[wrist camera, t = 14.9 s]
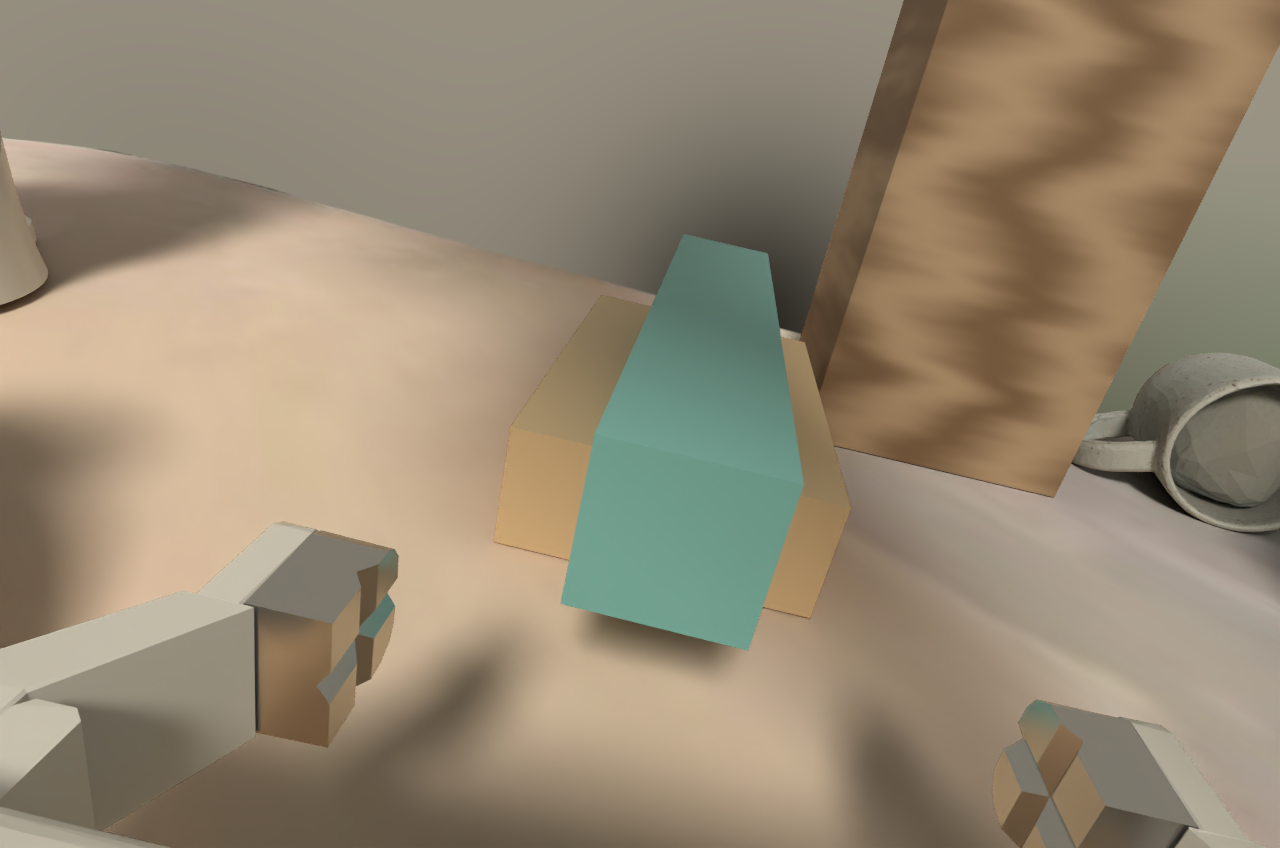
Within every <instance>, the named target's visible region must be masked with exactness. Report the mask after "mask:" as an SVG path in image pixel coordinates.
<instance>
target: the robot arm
mask: <svg viewBox="0 0 1280 848" xmlns="http://www.w3.org/2000/svg"><path fill="white" fill-rule="evenodd" d="M36 240H37V238H36V234H35V230H34V226H33V222H32V220H31V219H30V218H29V217H27V216H25V215H24V212H23V209H22V206H21V203H20V200H19V197H18V194H17V191H16V188H15V185H14V181H13V178H12V174H11V170H10V166H9V163H8V159H7V155H6V151H5V148H4V144H3V140H2V136H1V132H0V305H2V304H5V303H8V302H10V301H13V300H16V299H18V298H21V297H23V296H25V295H27V294H29V293H31V292H33V291H34V290H36V289H37V288H39V287H40V286H41V285H42V284H43V283H44V282H45V281H46V279H47V277H48V269H47V267H46V265H45V263H44V261H43V259H42V256H41V254H40V252H39V250H38V248H37V246H36ZM397 578H398V554H397V553H396V551H395V549H392V548H388V547H384V546H380V545H376V544H372V543H368V542H364V541H360V540H356V539H353V538H349V537H345V536H341V535H337V534H333V533H329V532H325V531H318V530H316V529H312V528H308V527H304V526H300V525H296V524H291V523H287V522H279V523H274V524H272V525H271V526H270V527H268V528H267V529H266V530H265V531H264V532H263V533H262V534H261V535H260V536H259V537H257V538H256V539H255V540H254V541H253V542H252V543H251V544H250V545H249V546H248V547H246V548H245V549H244V550H243V551H242V552H241V553H240V554H239V555H238V556H237V557H235V558H234V559H233V560H232V561H231V562H230V563H229V564H228V565H227V566H226V567H224V568H223V569H222V570H221V571H220V572H219V573H218V574H217V575H216V576H215V577H213V578H212V579H211V580H210V581H209V582H208V583H207V584H206V585H205V586H204V587H202V588H201V589H200V590H199V591H198V592H197V593H192V592H187V591H181V592H178V593H175V594H172V595H168V596H165V597H162V598H159V599H156V600H153V601H150V602H146V603H143V604H140V605H137V606H134V607H131V608H127V609H124V610H121V611H118V612H115V613H112V614H109V615H105V616H102V617H99V618H96V619H93V620H90V621H87V622H83V623H80V624H77V625H74V626H71V627H68V628H64V629H61V630H58V631H55V632H52V633H49V634H46V635H42V636H39V637H36V638H33V639H30V640H27V641H23V642H20V643H17V644H14V645H11V646H8V647H5V648H1V649H0V848H171V847H167V846H162V845H158V844H154V843H150V842H146V841H142V840H138V839H134V838H130V837H125V836H121V835H117V834H113V833H109V832H105V831H102V830H104V829H106V828H107V827H109V826H110V825H112V824H114V823H115V822H117V821H119V820H120V819H122V818H124V817H125V816H127V815H128V814H130V813H132V812H133V811H135V810H137V809H138V808H140V807H142V806H143V805H145V804H146V803H148V802H150V801H151V800H153V799H155V798H156V797H158V796H160V795H161V794H163V793H164V792H166V791H168V790H169V789H171V788H173V787H174V786H176V785H178V784H179V783H181V782H182V781H184V780H186V779H187V778H189V777H191V776H192V775H194V774H196V773H197V772H199V771H200V770H202V769H204V768H205V767H207V766H209V765H210V764H212V763H214V762H215V761H217V760H218V759H220V758H222V757H223V756H225V755H227V754H228V753H230V752H232V751H233V750H235V749H236V748H238V747H240V746H241V745H243V744H245V743H246V742H248V741H250V740H251V739H253V738H254V737H255V736H256V733H260V734H265V735H270V736H275V737H279V738H284V739H289V740H294V741H299V742H303V743H308V744H313V745H318V746H323V747H327V748H328V746H329V745H330V743H331V742H332V740H333V739H334V737H335V735H336V734H337V732H338V731H339V729H340V727H341V726H342V724H343V723H344V721H345V720H346V718H347V716H348V715H349V713H350V712H351V710H352V708H353V707H354V704H355V689H356V686H358V685H360V684H362V683H364V682H366V681H368V680H370V679H371V678H372V676H373V675H374V673H375V671H376V670H377V668H378V666H379V665H380V663H381V661H382V658H383V656H384V653H385V651H386V648H387V646H388V643H389V641H390V637H391V632H392V628H393V623H394V614H395V605H394V603H393V602H392V600H391V599H390V597H389V595H388V594H387V592H388V591H389V589H390V588H391V586H392V585H393V584H394V582H395V581H396V579H397ZM1018 724H1019V727H1020V730H1021V733H1022V736H1023V739H1021V740H1020V741H1018V742H1016V743H1014V744H1012V745H1010V746H1008V747H1007V748H1005V749H1004V750H1003V752H1002V754H1001V756H1000V759H999V761H998V763H997V765H996V767H995V769H994V778H993V787H992V795H993V803H994V810H995V812H996V815H997V818H998V821H999V824H1000V827H1001V829H1002V830H1003V831H1004V832H1005V833H1006V834H1007V835H1008V836H1009V837H1010V838H1011V839H1012V840H1013V841H1014V842H1015V843H1016V844H1017V845H1018V847H1019V848H1267V847H1266V846H1264V845H1262V844H1258V843H1253V842H1250V841H1249V840H1248V838H1247V837H1246V835H1245V834H1244V833H1243V831H1242V830H1241V828H1240V827H1239V826H1238V824H1237V823H1236V821H1235V820H1234V818H1233V817H1232V816H1231V814H1230V813H1229V811H1228V810H1227V809H1226V807H1225V806H1224V804H1223V803H1222V802H1221V800H1220V799H1219V797H1218V796H1217V795H1216V793H1215V792H1214V790H1213V789H1212V787H1211V786H1210V785H1209V783H1208V782H1207V780H1206V779H1205V778H1204V776H1203V775H1202V773H1201V772H1200V771H1199V769H1198V768H1197V766H1196V765H1195V764H1194V762H1193V761H1192V759H1191V758H1190V756H1189V755H1188V754H1187V752H1186V751H1185V749H1184V748H1183V747H1182V745H1181V744H1180V742H1179V741H1178V740H1177V738H1176V737H1175V735H1174V734H1173V733H1171V732H1170V731H1168V730H1167V729H1166V728H1164V727H1163V726H1161V725H1157V724H1152V723H1147V722H1143V721H1138V720H1133V719H1128V718H1123V717H1117V718H1116V717H1112V716H1107V715H1103V714H1098V713H1094V712H1090V711H1085V710H1081V709H1077V708H1072V707H1068V706H1063V705H1059V704H1055V703H1050V702H1046V701H1041V700H1035V701H1034V702H1033V703H1032V704H1030V705H1029V706H1028V707H1027V708H1026V710H1025V711H1024V713H1023V715H1022V717H1021V718H1020V720H1019V722H1018Z"/></svg>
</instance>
